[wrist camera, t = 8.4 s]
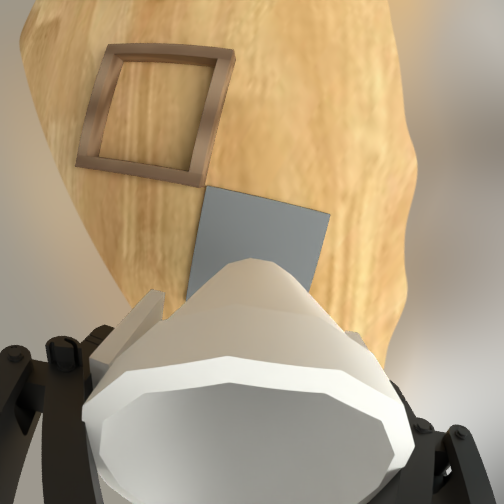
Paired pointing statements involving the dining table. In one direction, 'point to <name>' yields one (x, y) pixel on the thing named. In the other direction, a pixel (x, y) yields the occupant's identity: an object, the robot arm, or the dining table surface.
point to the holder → (105, 90)
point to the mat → (255, 236)
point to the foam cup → (247, 403)
